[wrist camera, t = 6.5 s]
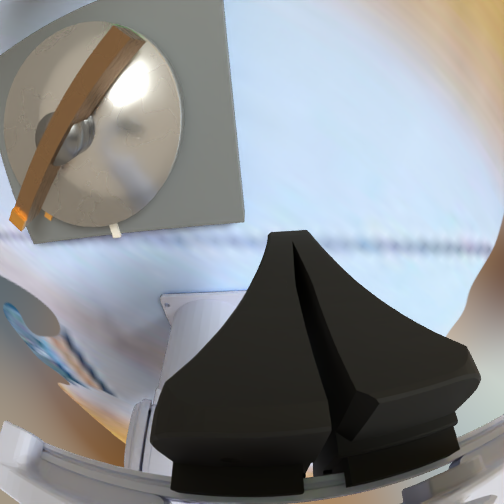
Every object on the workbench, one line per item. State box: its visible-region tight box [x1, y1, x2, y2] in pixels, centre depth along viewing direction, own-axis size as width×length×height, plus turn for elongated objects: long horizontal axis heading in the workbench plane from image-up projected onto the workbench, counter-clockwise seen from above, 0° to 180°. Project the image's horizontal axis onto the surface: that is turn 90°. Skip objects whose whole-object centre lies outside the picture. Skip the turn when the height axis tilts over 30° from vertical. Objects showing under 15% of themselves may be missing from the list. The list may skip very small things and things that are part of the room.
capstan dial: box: [4, 21, 185, 231], centre depth 12 cm, size 13×13×4 cm
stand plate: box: [0, 0, 245, 244], centre depth 15 cm, size 16×18×2 cm
